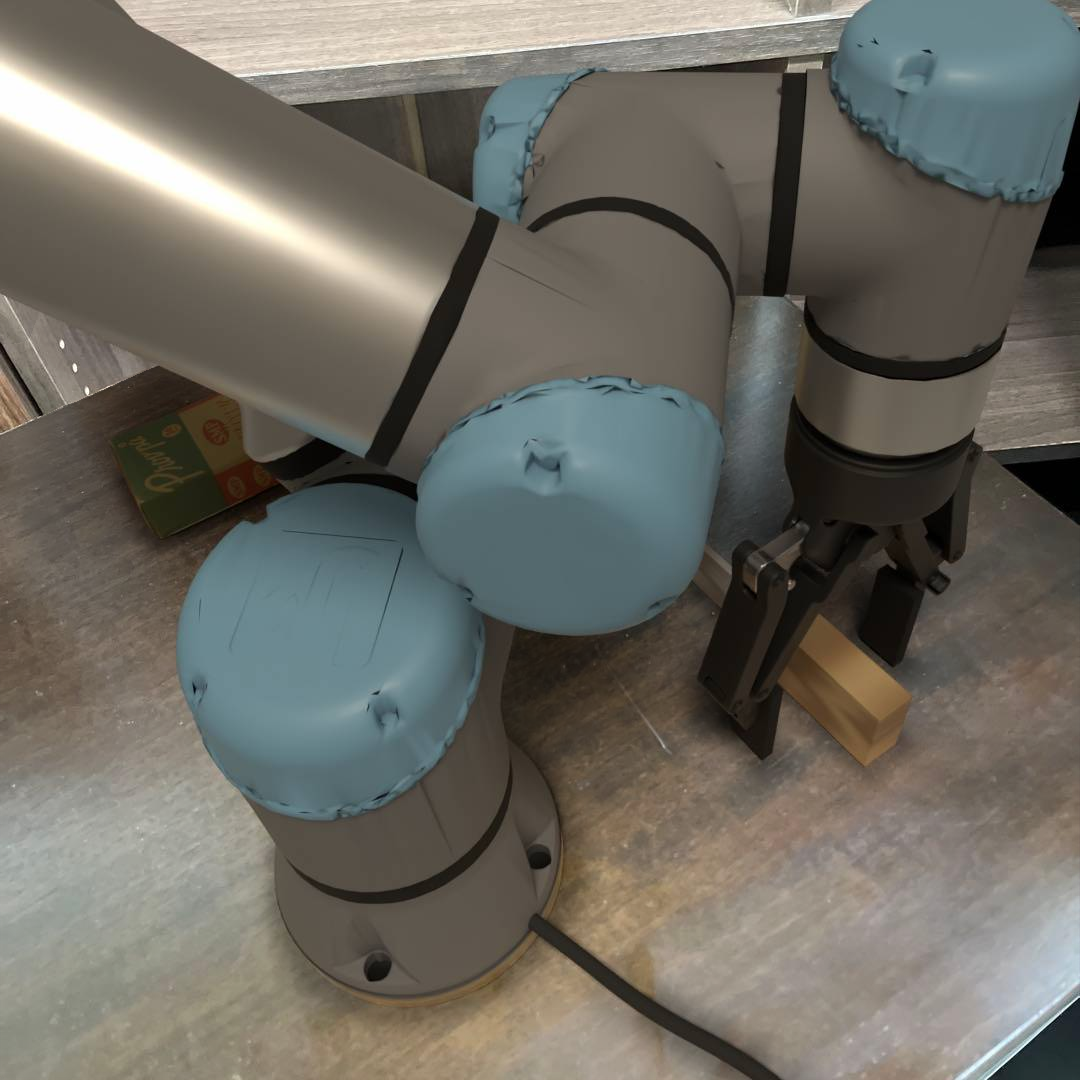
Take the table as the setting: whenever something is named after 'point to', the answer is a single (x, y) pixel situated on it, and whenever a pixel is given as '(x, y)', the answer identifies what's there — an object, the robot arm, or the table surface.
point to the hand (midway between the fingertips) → (817, 692)
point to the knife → (830, 678)
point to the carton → (189, 465)
